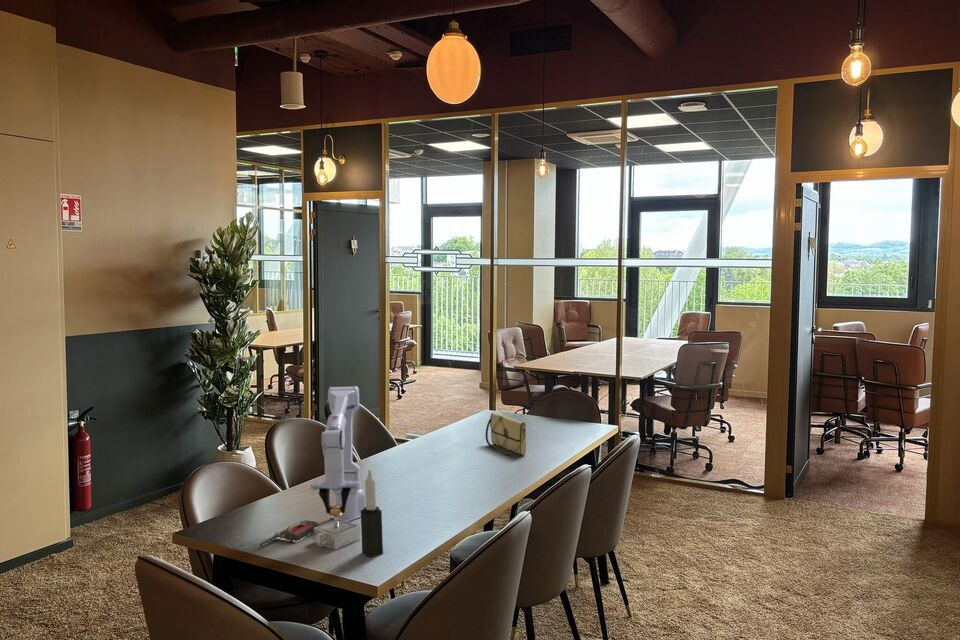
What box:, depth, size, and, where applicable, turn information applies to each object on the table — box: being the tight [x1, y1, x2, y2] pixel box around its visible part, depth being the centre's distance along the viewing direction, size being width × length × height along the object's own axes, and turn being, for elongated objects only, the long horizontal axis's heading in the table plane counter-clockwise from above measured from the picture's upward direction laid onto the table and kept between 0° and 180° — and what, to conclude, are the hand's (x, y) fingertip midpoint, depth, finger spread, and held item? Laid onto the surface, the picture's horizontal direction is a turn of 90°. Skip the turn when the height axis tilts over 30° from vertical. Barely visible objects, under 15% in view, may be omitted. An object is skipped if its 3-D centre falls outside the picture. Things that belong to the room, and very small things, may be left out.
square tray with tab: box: [312, 519, 361, 550], centre depth 226 cm, size 12×10×4 cm
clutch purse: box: [485, 412, 527, 456], centre depth 331 cm, size 30×7×15 cm, turn 29°
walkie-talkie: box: [259, 519, 318, 546], centre depth 230 cm, size 9×4×20 cm
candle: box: [360, 469, 384, 558], centre depth 216 cm, size 5×5×25 cm
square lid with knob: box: [318, 504, 355, 534], centre depth 226 cm, size 8×8×7 cm
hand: (336, 512), depth 226 cm, fingers closed on square lid with knob, 4 cm apart
